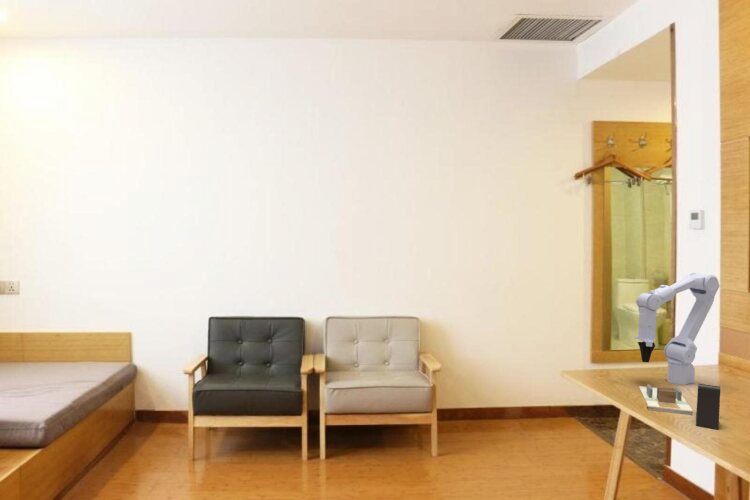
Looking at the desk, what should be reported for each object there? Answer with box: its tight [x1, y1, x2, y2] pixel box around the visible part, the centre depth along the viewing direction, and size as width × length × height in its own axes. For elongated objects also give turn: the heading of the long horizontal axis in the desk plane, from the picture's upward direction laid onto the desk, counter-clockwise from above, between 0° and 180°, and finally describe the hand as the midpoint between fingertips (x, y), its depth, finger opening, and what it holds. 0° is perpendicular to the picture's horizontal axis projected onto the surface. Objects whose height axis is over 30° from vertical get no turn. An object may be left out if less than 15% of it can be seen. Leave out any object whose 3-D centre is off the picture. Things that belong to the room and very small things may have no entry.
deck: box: [638, 384, 694, 416], centre depth 199 cm, size 24×13×4 cm, turn 162°
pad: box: [644, 398, 689, 405], centre depth 195 cm, size 4×13×2 cm, turn 72°
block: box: [656, 385, 677, 405], centre depth 196 cm, size 5×5×4 cm
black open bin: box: [695, 383, 721, 430], centre depth 178 cm, size 9×6×12 cm, turn 150°
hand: (645, 361), depth 215 cm, fingers closed
